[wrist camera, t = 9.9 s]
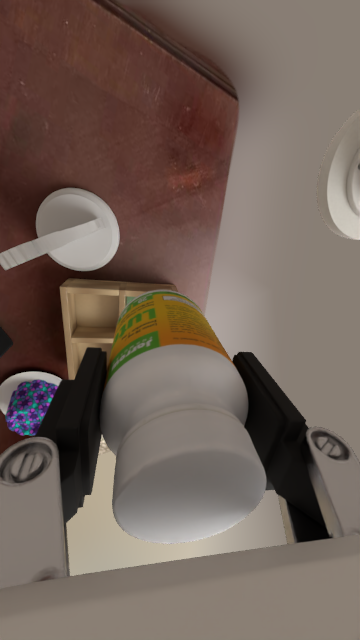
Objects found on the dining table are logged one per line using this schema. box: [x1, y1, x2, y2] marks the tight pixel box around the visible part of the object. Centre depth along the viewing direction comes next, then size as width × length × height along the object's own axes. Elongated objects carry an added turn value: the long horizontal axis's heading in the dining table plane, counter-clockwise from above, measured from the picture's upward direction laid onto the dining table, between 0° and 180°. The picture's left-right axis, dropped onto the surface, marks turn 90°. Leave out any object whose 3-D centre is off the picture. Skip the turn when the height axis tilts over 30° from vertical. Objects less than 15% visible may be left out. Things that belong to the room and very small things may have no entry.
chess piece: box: [0, 188, 120, 271], centre depth 23 cm, size 10×10×15 cm
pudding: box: [0, 371, 62, 435], centre depth 37 cm, size 12×12×5 cm
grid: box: [60, 278, 178, 380], centre depth 35 cm, size 15×15×4 cm
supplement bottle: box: [99, 290, 267, 544], centre depth 10 cm, size 5×5×10 cm
